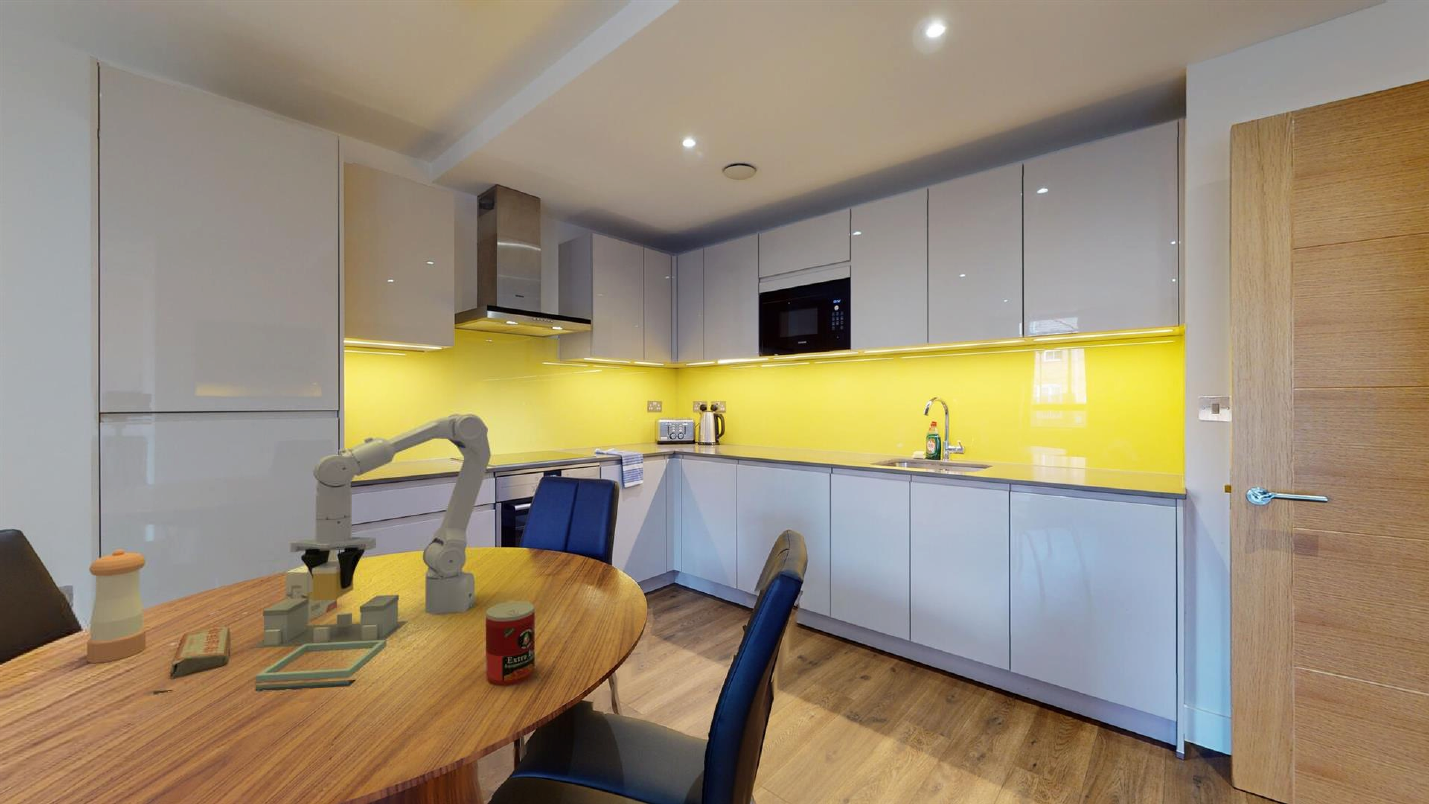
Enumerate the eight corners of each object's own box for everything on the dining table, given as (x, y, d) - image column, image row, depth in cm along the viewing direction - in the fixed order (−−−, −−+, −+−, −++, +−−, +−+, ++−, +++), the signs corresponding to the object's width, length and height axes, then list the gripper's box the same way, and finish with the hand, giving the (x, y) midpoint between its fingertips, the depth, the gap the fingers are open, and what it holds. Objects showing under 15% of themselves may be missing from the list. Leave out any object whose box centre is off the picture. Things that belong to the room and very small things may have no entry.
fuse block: (407, 628, 111) (407, 608, 111) (383, 649, 101) (383, 627, 102) (287, 634, 109) (287, 613, 109) (249, 656, 99) (250, 634, 99)
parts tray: (386, 653, 100) (386, 639, 100) (349, 686, 88) (349, 670, 88) (304, 657, 98) (304, 643, 98) (255, 691, 86) (255, 675, 86)
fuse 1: (308, 628, 108) (308, 598, 108) (287, 642, 102) (287, 609, 102) (285, 630, 107) (285, 599, 107) (262, 643, 101) (263, 610, 101)
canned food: (506, 690, 86) (506, 620, 86) (475, 678, 90) (475, 611, 90) (545, 671, 92) (544, 605, 93) (514, 660, 97) (514, 597, 97)
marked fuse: (354, 589, 109) (354, 559, 109) (335, 599, 102) (335, 567, 103) (331, 590, 108) (331, 559, 108) (311, 600, 102) (311, 568, 102)
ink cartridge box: (315, 613, 120) (316, 546, 121) (337, 613, 120) (338, 546, 121) (284, 628, 112) (284, 557, 112) (308, 628, 112) (308, 556, 112)
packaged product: (168, 632, 99) (240, 619, 106) (167, 659, 99) (240, 644, 105) (151, 667, 85) (236, 649, 92) (151, 699, 85) (236, 678, 92)
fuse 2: (398, 624, 109) (398, 594, 110) (383, 637, 103) (383, 605, 103) (376, 625, 109) (376, 595, 109) (359, 638, 103) (359, 606, 103)
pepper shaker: (132, 643, 105) (133, 544, 106) (154, 648, 103) (155, 546, 103) (77, 659, 98) (79, 553, 99) (100, 665, 96) (102, 556, 96)
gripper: (279, 522, 101) (278, 596, 101) (362, 520, 102) (361, 592, 102) (304, 515, 108) (303, 584, 108) (381, 513, 109) (381, 581, 109)
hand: (333, 587), depth 105 cm, fingers closed on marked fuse, 4 cm apart
